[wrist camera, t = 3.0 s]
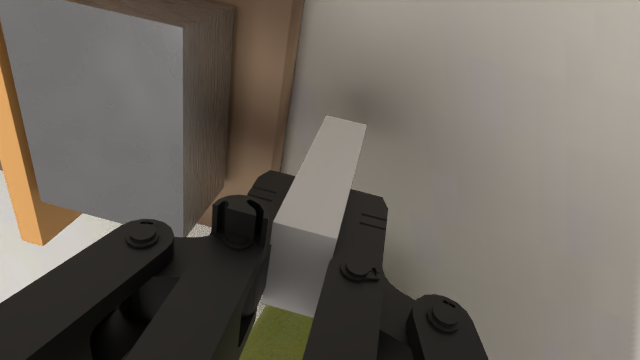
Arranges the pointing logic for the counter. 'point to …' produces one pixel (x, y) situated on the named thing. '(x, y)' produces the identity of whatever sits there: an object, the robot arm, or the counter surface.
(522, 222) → the counter surface
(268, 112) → the gauge board
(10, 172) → the upright wooden plank
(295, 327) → the plant pot
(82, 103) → the grey foam block
